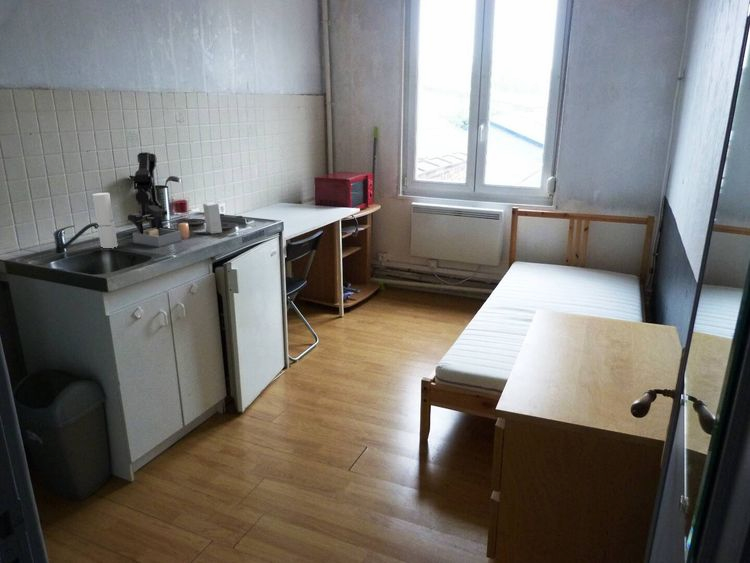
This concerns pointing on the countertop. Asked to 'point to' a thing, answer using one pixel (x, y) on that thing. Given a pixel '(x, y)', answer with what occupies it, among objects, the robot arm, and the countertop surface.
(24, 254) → the countertop surface
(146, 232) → the beech cube
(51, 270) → the countertop surface
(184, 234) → the terracotta cylinder
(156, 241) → the tote
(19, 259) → the countertop surface
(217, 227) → the skincare box
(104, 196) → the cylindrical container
